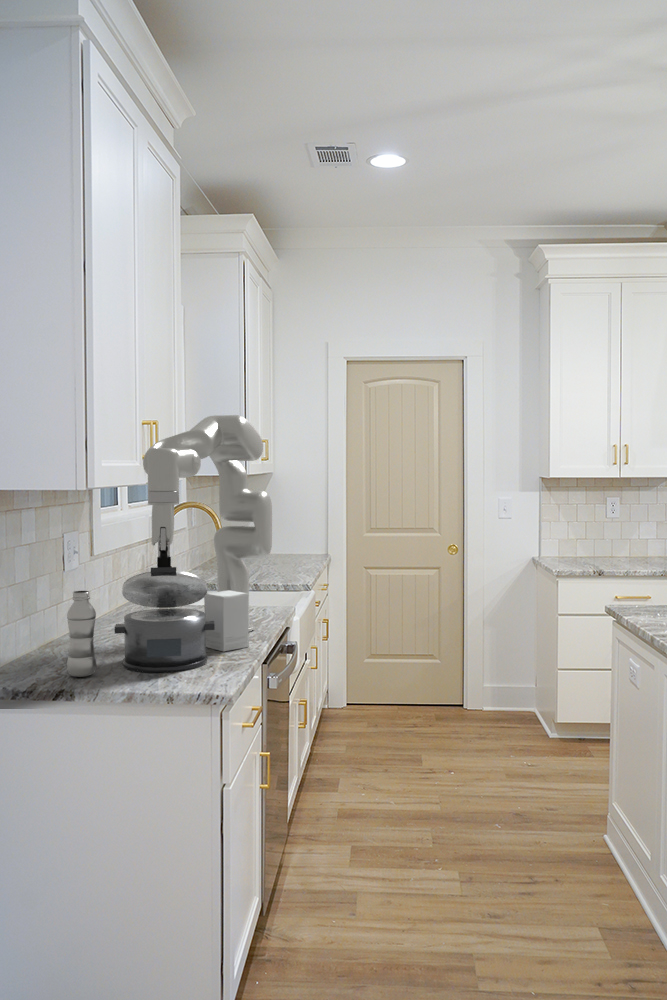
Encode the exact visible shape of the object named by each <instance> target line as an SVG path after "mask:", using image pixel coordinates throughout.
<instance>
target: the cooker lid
mask: <svg viewBox="0 0 667 1000" xmlns="http://www.w3.org/2000/svg"><path fill="white" fill-rule="evenodd" d="M121 592H122V596H123V598H124V599H125V600H127V601H128V602H129V603H132V604H135V605H138V606H142V607H145V608H146V607H148V608H154V609H166V608H179V607H184V606H185V607H186V606H189V605H193V604H195V603H197V602H200V601H201V600H203V599H204V597H205V596H206V594H207V593H208V583H207V582H206V581H205V579H203V578H202V577H201V576H198V575H196V574H193V573H190V572H186V571H180V570H177V566H171V567H158V568H157V567H150V571H147V572H142V573H138V574H136V575H134V576H131V577H129V578H128V579H126V580H125V581H124V582H123V584H122V591H121Z"/></svg>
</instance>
